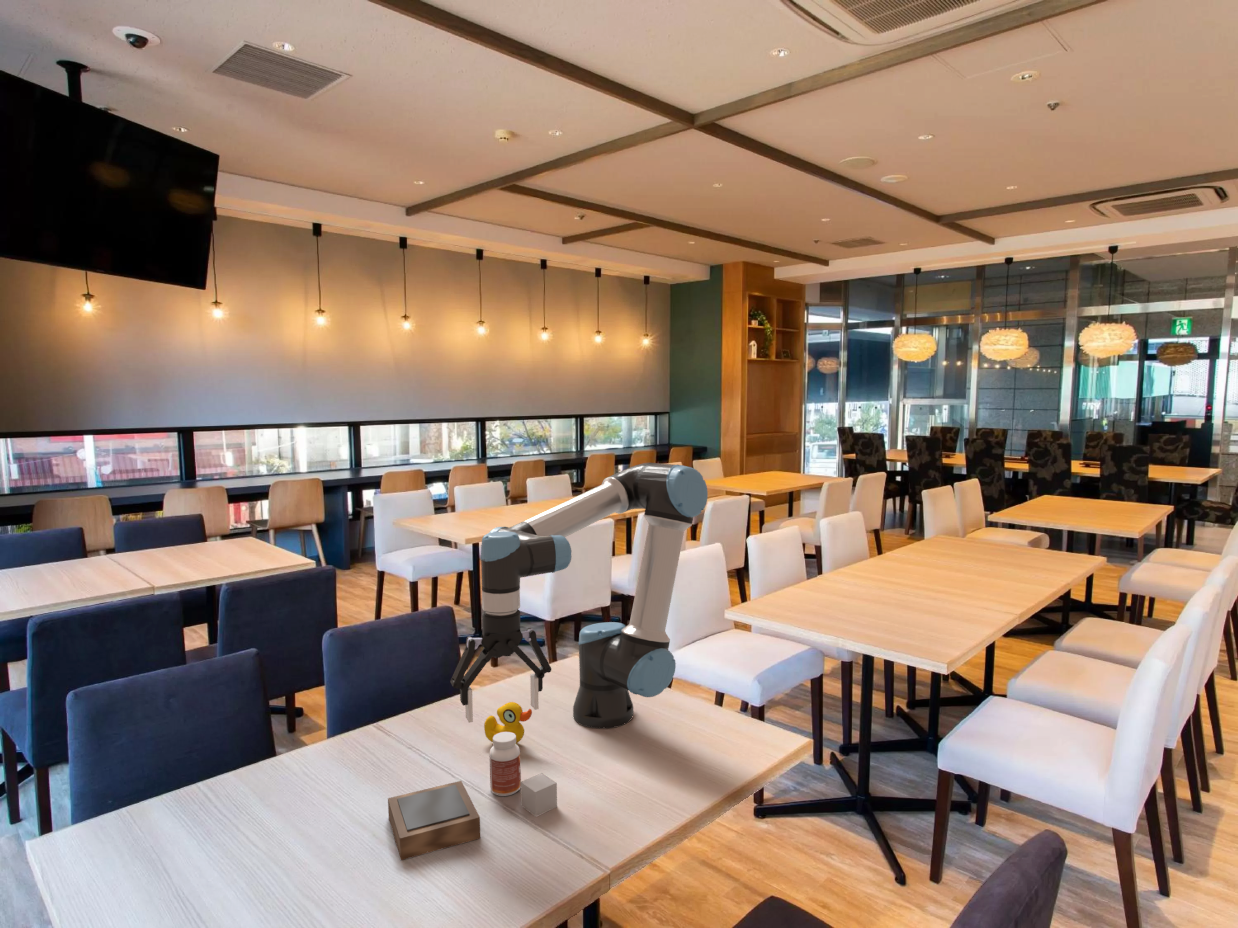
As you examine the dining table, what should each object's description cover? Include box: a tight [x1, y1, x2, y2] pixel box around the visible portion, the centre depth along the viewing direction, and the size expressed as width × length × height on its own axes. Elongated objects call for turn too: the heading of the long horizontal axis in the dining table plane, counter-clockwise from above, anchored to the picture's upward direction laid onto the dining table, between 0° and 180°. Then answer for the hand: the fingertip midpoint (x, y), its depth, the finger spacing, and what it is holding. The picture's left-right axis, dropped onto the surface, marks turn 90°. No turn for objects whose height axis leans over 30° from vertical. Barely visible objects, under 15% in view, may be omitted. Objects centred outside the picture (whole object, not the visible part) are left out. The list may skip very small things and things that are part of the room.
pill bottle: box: [489, 732, 522, 797], centre depth 146 cm, size 6×6×11 cm
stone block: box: [520, 772, 558, 817], centre depth 140 cm, size 5×5×5 cm
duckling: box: [483, 701, 533, 745], centre depth 165 cm, size 11×5×10 cm, turn 79°
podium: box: [387, 780, 481, 861], centre depth 133 cm, size 14×14×4 cm
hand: (502, 713), depth 145 cm, fingers open, 13 cm apart
